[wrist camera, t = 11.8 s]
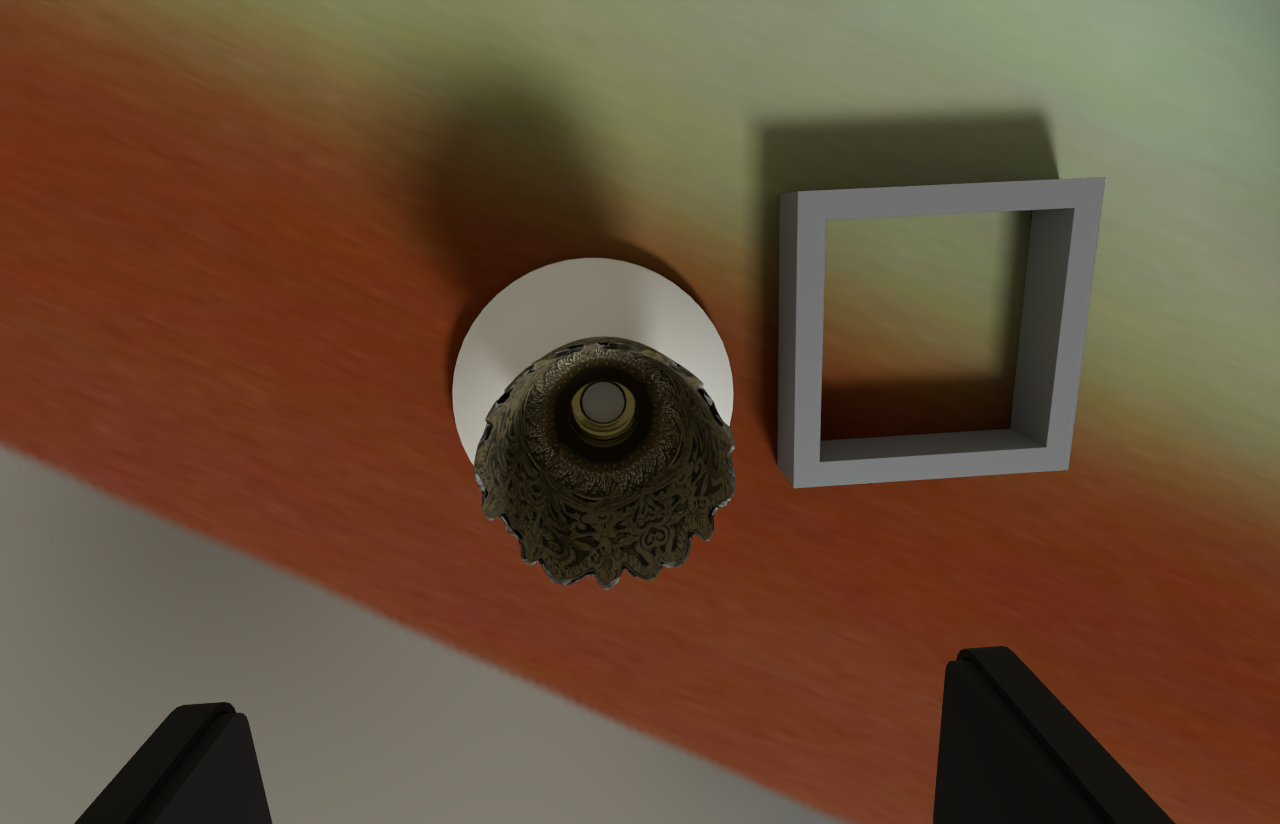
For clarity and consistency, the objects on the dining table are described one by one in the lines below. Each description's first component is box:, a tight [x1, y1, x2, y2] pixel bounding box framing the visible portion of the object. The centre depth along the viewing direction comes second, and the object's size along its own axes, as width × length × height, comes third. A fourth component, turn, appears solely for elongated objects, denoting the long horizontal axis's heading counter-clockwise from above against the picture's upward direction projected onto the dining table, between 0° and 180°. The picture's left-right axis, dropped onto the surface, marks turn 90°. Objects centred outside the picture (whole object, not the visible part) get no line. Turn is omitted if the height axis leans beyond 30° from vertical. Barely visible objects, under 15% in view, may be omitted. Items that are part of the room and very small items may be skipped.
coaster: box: [452, 257, 733, 465], centre depth 28 cm, size 11×11×1 cm
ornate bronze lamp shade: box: [474, 336, 735, 590], centre depth 24 cm, size 8×7×8 cm
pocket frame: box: [777, 177, 1106, 488], centre depth 27 cm, size 11×11×2 cm
